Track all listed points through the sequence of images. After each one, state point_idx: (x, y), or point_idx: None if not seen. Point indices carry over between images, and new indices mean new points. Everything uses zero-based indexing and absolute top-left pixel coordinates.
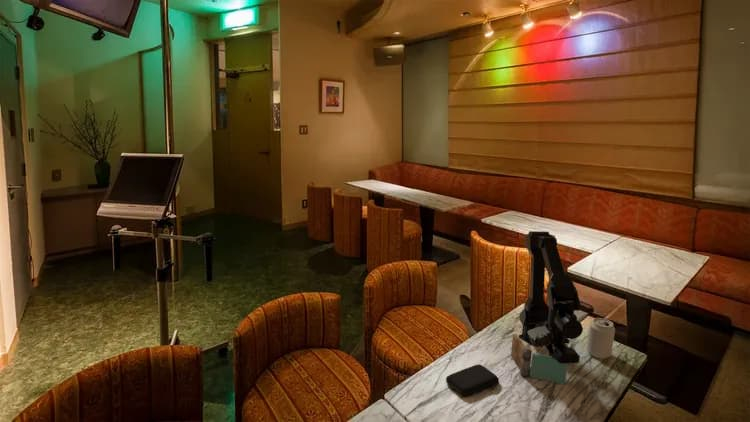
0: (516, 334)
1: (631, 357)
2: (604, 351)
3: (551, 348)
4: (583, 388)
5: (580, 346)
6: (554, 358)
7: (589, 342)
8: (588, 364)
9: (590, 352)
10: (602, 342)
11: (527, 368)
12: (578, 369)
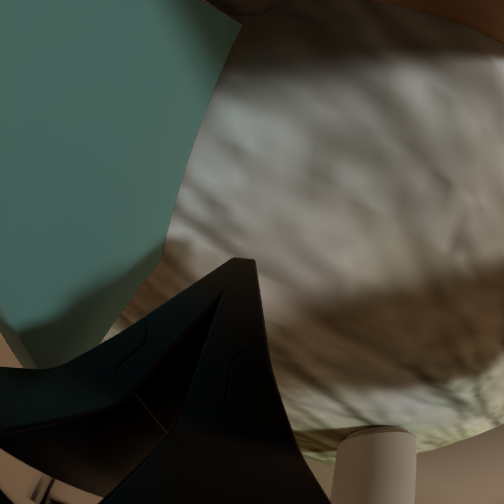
0: None
1: (331, 460)
2: (337, 466)
3: (50, 474)
4: (142, 312)
5: (439, 418)
6: (9, 334)
7: (388, 471)
8: (330, 407)
9: (377, 438)
10: (337, 497)
11: None
12: (301, 372)
